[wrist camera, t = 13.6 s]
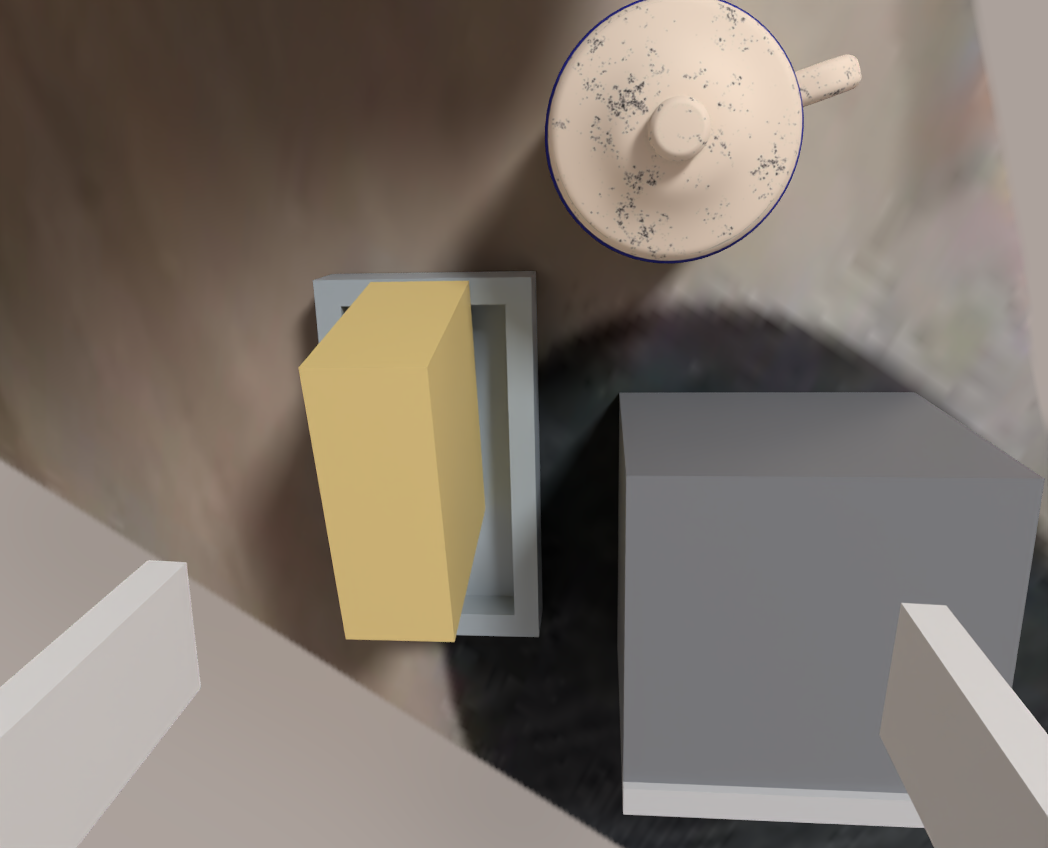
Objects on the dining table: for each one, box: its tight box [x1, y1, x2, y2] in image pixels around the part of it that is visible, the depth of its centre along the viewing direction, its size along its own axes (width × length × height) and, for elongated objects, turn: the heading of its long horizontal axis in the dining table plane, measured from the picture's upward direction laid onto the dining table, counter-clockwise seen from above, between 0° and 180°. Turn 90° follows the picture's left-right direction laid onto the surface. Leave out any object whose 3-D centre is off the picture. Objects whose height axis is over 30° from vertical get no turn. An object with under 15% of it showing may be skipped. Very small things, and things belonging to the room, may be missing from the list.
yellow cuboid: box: [299, 281, 485, 642], centre depth 36 cm, size 12×4×10 cm, turn 1°
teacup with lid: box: [545, 0, 861, 263], centre depth 32 cm, size 12×9×12 cm
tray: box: [313, 271, 543, 637], centre depth 41 cm, size 18×10×3 cm, turn 1°
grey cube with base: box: [617, 392, 1045, 828], centre depth 36 cm, size 14×14×13 cm
